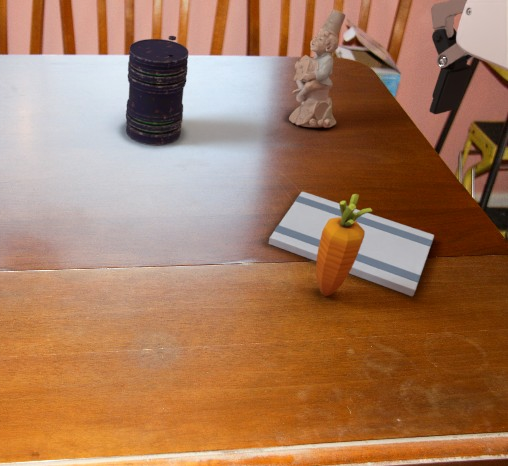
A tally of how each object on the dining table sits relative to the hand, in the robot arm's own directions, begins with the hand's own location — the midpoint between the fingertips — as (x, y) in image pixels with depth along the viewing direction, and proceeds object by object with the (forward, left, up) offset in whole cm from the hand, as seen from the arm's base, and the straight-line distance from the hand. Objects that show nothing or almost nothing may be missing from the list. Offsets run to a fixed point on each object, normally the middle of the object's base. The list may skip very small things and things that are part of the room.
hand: (490, 133), depth 55 cm
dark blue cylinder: (+49, -34, -31) cm, 67 cm away
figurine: (+27, -55, -31) cm, 69 cm away
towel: (+10, -22, -31) cm, 39 cm away
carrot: (+10, -9, -31) cm, 34 cm away
